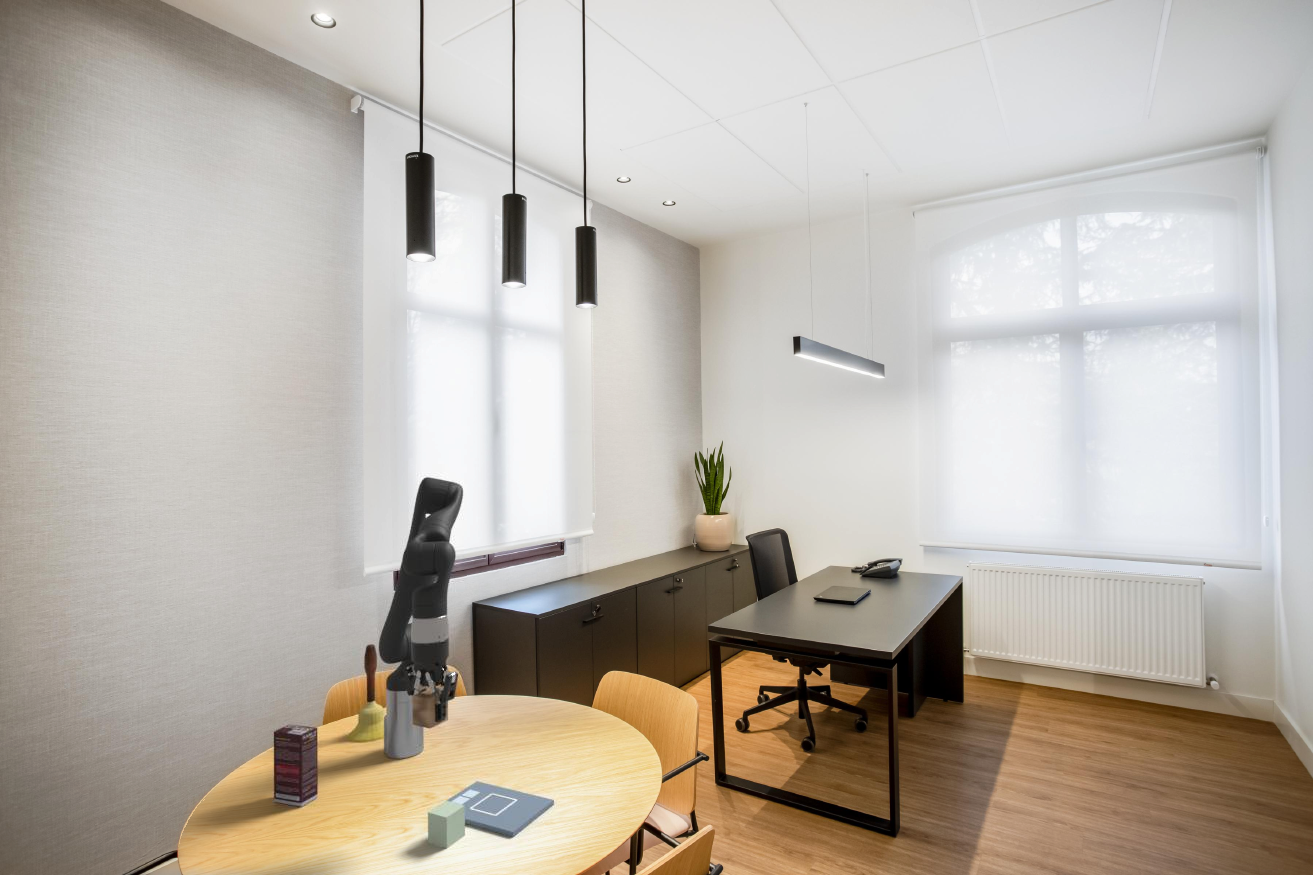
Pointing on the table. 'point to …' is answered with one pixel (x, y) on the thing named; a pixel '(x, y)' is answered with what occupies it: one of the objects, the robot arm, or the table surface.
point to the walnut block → (425, 709)
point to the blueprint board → (500, 808)
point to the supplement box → (295, 765)
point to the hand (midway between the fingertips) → (430, 718)
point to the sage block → (446, 824)
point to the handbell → (369, 706)
